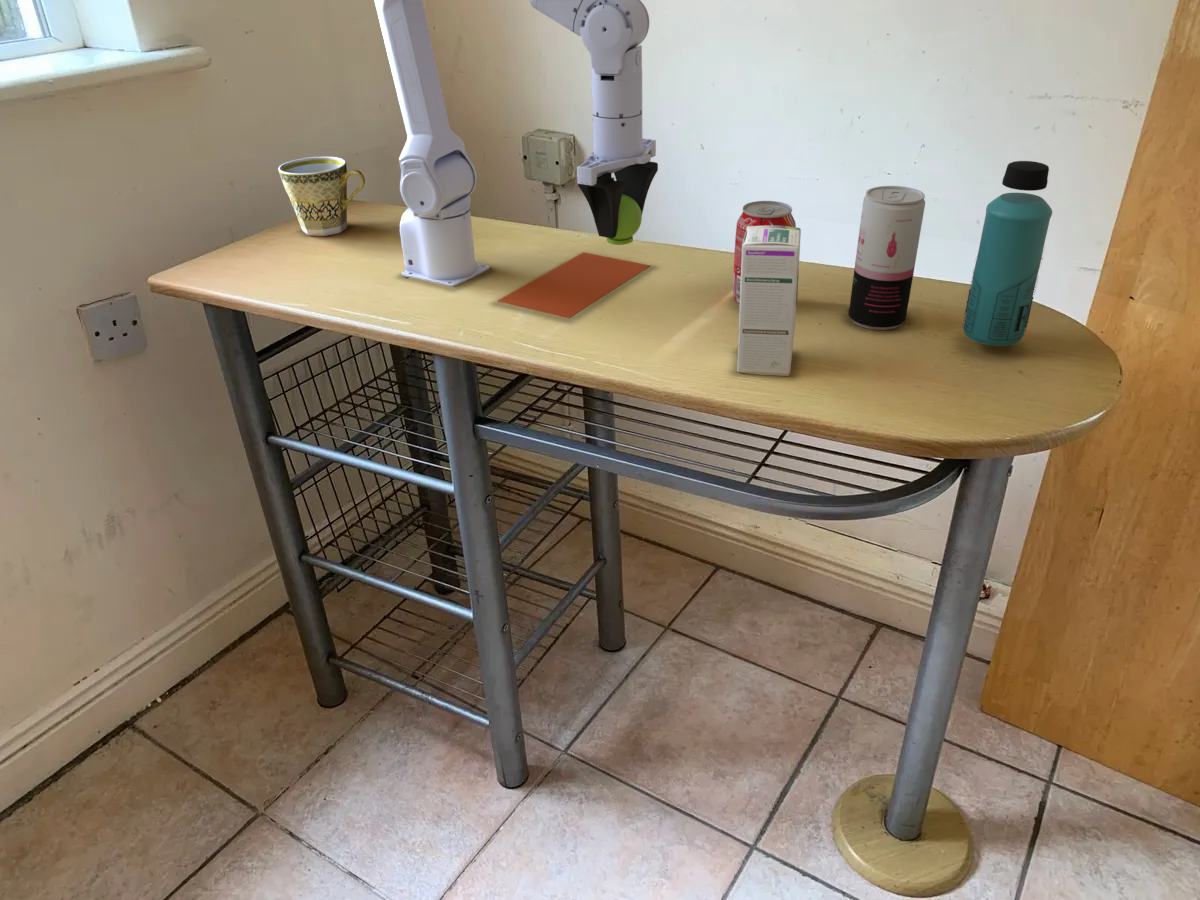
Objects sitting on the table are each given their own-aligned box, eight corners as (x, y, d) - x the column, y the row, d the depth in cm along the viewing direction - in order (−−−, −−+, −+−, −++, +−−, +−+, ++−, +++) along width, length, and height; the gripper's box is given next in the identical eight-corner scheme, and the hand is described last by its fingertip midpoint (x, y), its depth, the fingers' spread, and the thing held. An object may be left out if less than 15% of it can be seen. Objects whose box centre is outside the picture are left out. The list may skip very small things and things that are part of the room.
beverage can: (909, 313, 107) (930, 188, 99) (900, 334, 102) (921, 205, 94) (854, 305, 110) (870, 183, 102) (842, 326, 105) (859, 199, 97)
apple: (589, 243, 109) (587, 189, 106) (612, 230, 113) (611, 178, 110) (627, 250, 107) (626, 195, 103) (649, 237, 111) (649, 184, 107)
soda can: (795, 296, 113) (804, 202, 106) (780, 318, 107) (789, 220, 101) (741, 289, 115) (747, 196, 109) (724, 309, 110) (729, 213, 103)
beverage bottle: (1014, 364, 96) (1060, 175, 85) (950, 351, 99) (987, 167, 88) (1026, 341, 100) (1071, 159, 90) (965, 329, 103) (1001, 152, 93)
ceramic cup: (280, 239, 137) (266, 173, 132) (309, 218, 145) (296, 155, 140) (360, 241, 135) (348, 174, 130) (384, 220, 143) (374, 157, 138)
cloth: (497, 303, 113) (496, 300, 113) (583, 254, 128) (583, 252, 127) (568, 321, 108) (568, 318, 108) (650, 268, 122) (650, 265, 122)
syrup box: (790, 377, 95) (803, 244, 87) (734, 373, 96) (742, 242, 88) (791, 353, 99) (804, 225, 92) (738, 350, 100) (745, 223, 93)
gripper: (613, 130, 95) (616, 253, 102) (678, 104, 105) (676, 217, 112) (559, 123, 98) (565, 243, 106) (627, 99, 108) (628, 209, 116)
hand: (619, 229), depth 109 cm, fingers closed on apple, 5 cm apart
